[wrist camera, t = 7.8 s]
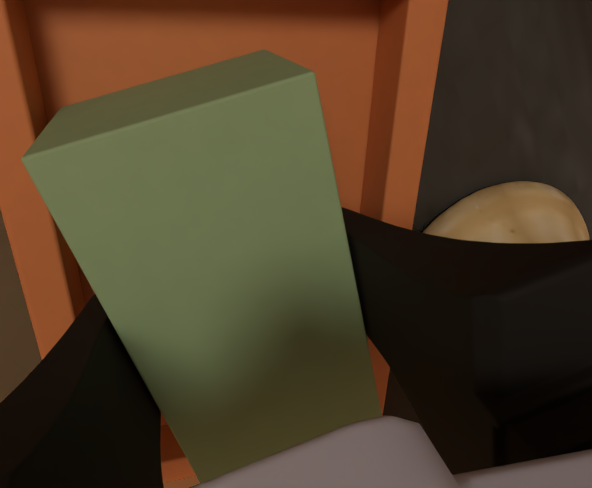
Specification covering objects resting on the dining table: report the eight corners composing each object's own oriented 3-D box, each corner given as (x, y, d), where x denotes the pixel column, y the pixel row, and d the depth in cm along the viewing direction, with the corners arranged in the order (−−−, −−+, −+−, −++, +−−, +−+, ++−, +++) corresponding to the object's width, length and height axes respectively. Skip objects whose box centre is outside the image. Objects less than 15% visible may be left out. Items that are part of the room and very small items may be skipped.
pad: (265, 48, 11) (315, 70, 8) (337, 347, 16) (387, 438, 13) (59, 107, 11) (17, 158, 7) (199, 398, 16) (213, 509, 12)
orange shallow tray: (407, -45, 12) (458, -53, 10) (355, 391, 19) (379, 437, 17) (-37, -74, 10) (-86, -92, 8) (88, 441, 16) (79, 502, 14)
